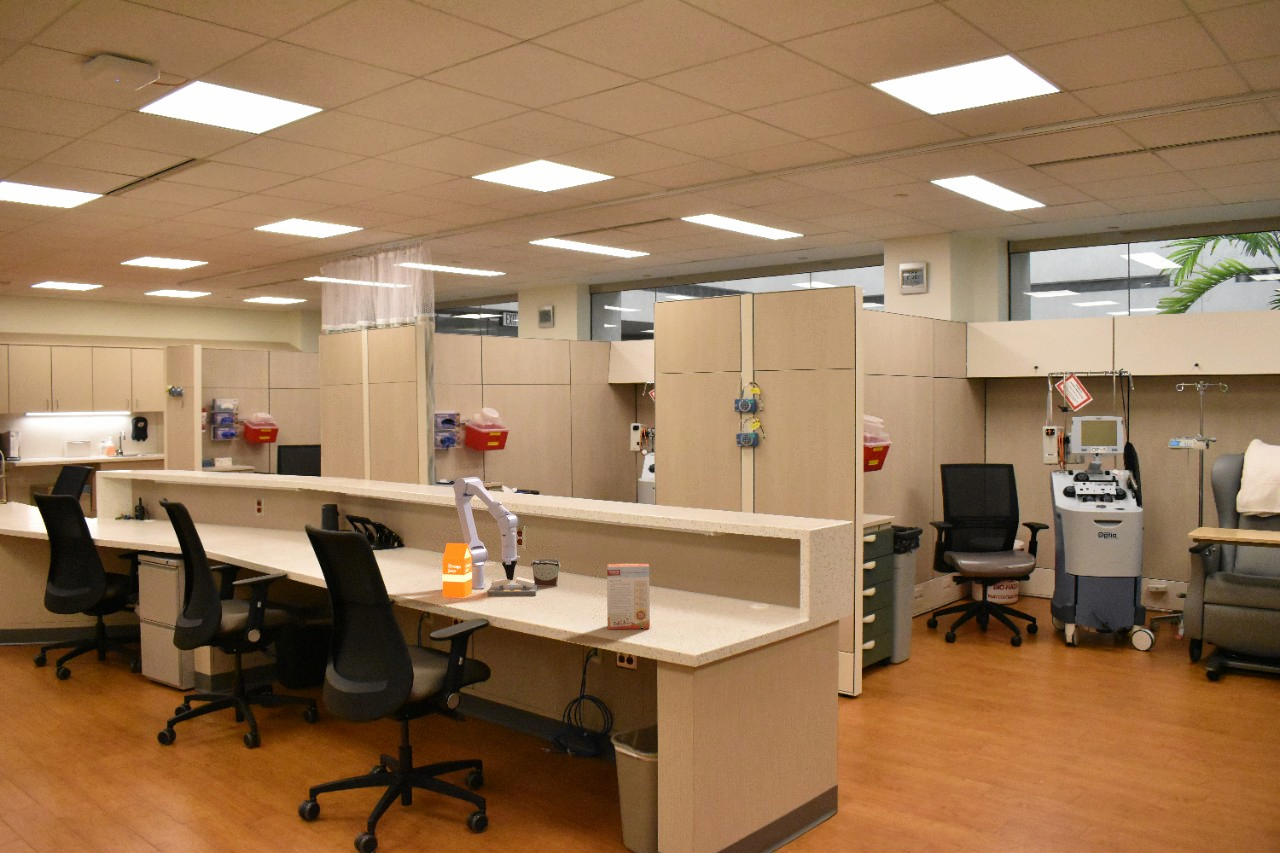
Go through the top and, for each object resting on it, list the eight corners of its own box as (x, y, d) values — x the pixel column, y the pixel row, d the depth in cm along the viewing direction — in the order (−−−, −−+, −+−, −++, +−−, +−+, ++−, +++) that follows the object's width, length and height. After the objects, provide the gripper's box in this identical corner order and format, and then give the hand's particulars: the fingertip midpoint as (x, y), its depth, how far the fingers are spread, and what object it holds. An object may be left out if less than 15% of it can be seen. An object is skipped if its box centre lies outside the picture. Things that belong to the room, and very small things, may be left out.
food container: (564, 583, 390) (564, 559, 389) (559, 586, 384) (559, 562, 384) (536, 582, 393) (536, 558, 393) (530, 585, 387) (530, 560, 387)
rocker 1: (491, 586, 369) (491, 582, 369) (493, 584, 374) (492, 580, 374) (509, 584, 370) (509, 580, 370) (510, 581, 375) (510, 577, 375)
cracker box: (649, 625, 320) (649, 562, 319) (649, 629, 314) (650, 566, 313) (607, 625, 319) (607, 562, 318) (607, 629, 313) (607, 566, 312)
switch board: (488, 596, 365) (488, 589, 365) (491, 589, 379) (491, 581, 379) (535, 595, 366) (535, 588, 366) (537, 588, 380) (537, 581, 380)
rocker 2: (515, 583, 370) (516, 579, 370) (516, 580, 375) (517, 576, 375) (533, 587, 370) (534, 583, 370) (533, 584, 375) (534, 580, 375)
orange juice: (464, 597, 363) (464, 545, 362) (442, 596, 364) (442, 544, 364) (472, 593, 370) (471, 542, 370) (450, 592, 372) (450, 541, 371)
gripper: (518, 547, 365) (519, 583, 365) (520, 542, 379) (521, 576, 380) (499, 548, 364) (500, 583, 365) (502, 543, 379) (503, 577, 379)
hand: (510, 580), depth 372 cm, fingers closed, pressing on rocker 1
